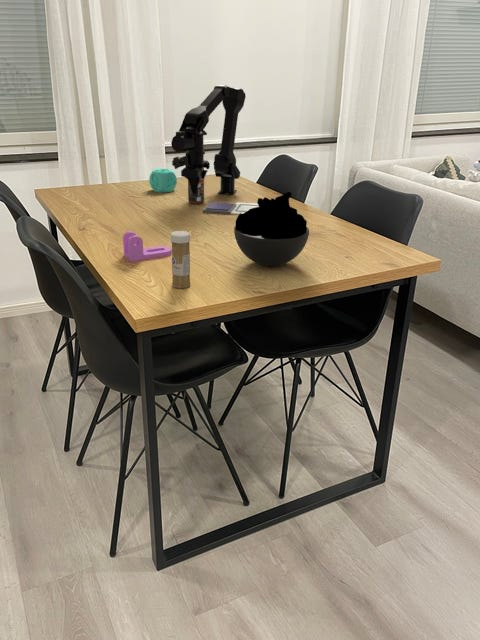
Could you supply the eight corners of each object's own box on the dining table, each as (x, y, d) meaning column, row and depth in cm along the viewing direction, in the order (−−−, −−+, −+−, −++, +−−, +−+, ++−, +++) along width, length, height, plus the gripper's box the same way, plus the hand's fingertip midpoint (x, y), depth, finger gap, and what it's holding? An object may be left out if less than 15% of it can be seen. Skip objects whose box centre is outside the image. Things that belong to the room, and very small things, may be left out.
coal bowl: (252, 281, 147) (254, 208, 139) (222, 256, 163) (222, 190, 155) (320, 271, 154) (326, 201, 146) (285, 249, 171) (289, 185, 163)
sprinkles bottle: (168, 285, 143) (166, 232, 137) (182, 280, 146) (180, 229, 141) (181, 290, 140) (179, 236, 135) (194, 285, 144) (194, 232, 138)
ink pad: (210, 205, 216) (210, 201, 215) (236, 206, 214) (236, 203, 214) (202, 212, 206) (202, 208, 206) (230, 214, 205) (230, 210, 204)
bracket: (130, 262, 159) (129, 237, 156) (124, 256, 163) (122, 231, 160) (174, 255, 164) (174, 231, 161) (167, 249, 169) (166, 226, 166)
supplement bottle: (203, 204, 216) (203, 173, 212) (187, 204, 217) (186, 173, 212) (204, 200, 222) (204, 170, 217) (189, 200, 222) (188, 170, 217)
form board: (236, 203, 219) (236, 201, 219) (273, 205, 217) (273, 204, 217) (227, 213, 205) (227, 212, 205) (267, 216, 203) (267, 215, 203)
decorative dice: (177, 190, 237) (176, 170, 233) (162, 193, 231) (161, 173, 228) (164, 187, 241) (163, 167, 238) (149, 190, 236) (148, 170, 233)
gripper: (181, 144, 220) (182, 185, 227) (166, 151, 204) (167, 196, 210) (209, 145, 219) (209, 187, 225) (197, 153, 202) (197, 198, 209)
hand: (196, 191), depth 217 cm, fingers closed on supplement bottle, 6 cm apart
